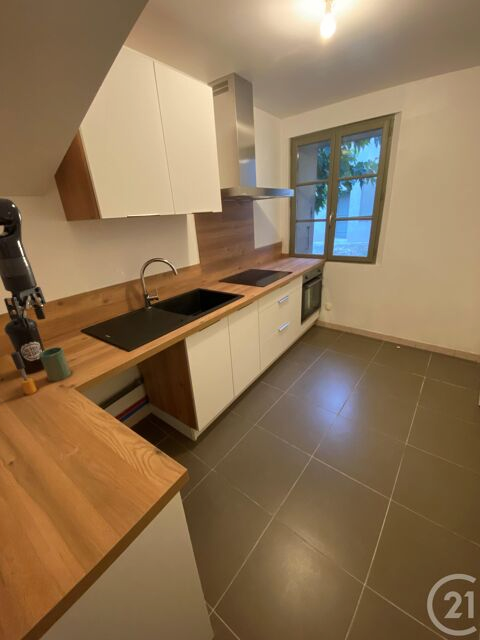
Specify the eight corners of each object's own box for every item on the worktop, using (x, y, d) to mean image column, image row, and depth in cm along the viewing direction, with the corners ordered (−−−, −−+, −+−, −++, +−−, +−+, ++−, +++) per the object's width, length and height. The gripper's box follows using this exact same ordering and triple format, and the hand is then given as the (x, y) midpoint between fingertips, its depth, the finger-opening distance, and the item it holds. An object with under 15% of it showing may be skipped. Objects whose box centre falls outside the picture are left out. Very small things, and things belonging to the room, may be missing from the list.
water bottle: (25, 377, 105) (2, 324, 96) (20, 368, 111) (-2, 318, 103) (54, 366, 111) (35, 316, 103) (48, 359, 118) (30, 311, 109)
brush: (23, 395, 93) (6, 356, 87) (27, 390, 96) (11, 351, 90) (34, 393, 94) (18, 354, 88) (38, 387, 97) (22, 349, 91)
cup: (45, 383, 100) (35, 358, 96) (52, 373, 106) (43, 349, 102) (67, 379, 101) (58, 354, 97) (73, 369, 108) (65, 345, 104)
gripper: (17, 269, 82) (34, 317, 88) (-16, 278, 69) (6, 334, 75) (43, 267, 83) (58, 315, 89) (15, 277, 70) (34, 332, 76)
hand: (34, 324), depth 82 cm, fingers open, 8 cm apart
